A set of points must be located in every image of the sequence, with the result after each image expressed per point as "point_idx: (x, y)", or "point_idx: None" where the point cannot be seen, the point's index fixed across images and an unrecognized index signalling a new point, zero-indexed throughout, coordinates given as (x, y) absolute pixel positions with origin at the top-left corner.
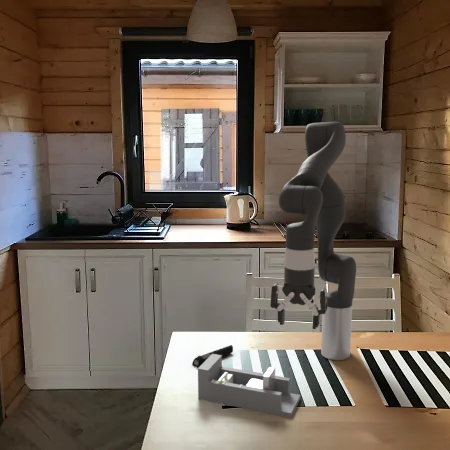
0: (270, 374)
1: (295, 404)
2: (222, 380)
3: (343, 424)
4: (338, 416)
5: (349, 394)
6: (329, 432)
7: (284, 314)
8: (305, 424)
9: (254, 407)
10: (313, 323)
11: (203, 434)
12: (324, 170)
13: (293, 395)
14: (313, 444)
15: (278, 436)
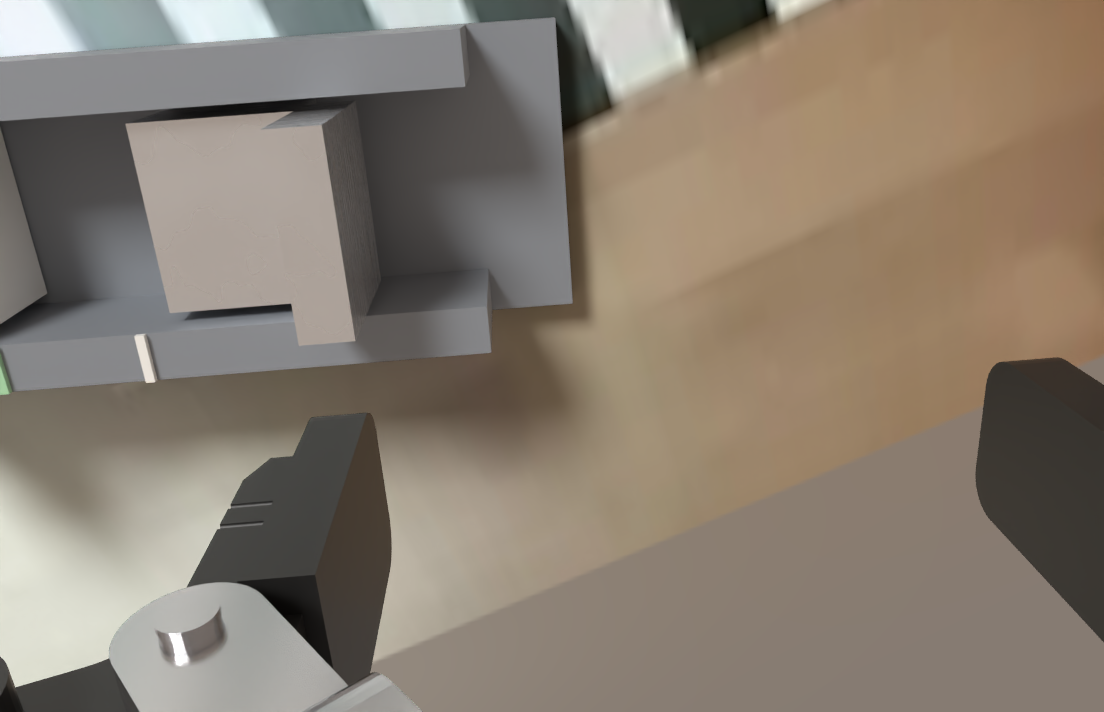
0: (345, 284)
1: (564, 178)
2: None
3: (906, 224)
4: (865, 141)
5: None
6: (833, 346)
7: (343, 510)
8: (677, 326)
9: None
10: (1054, 571)
11: None
12: None
13: (507, 51)
14: (765, 488)
15: (565, 501)
